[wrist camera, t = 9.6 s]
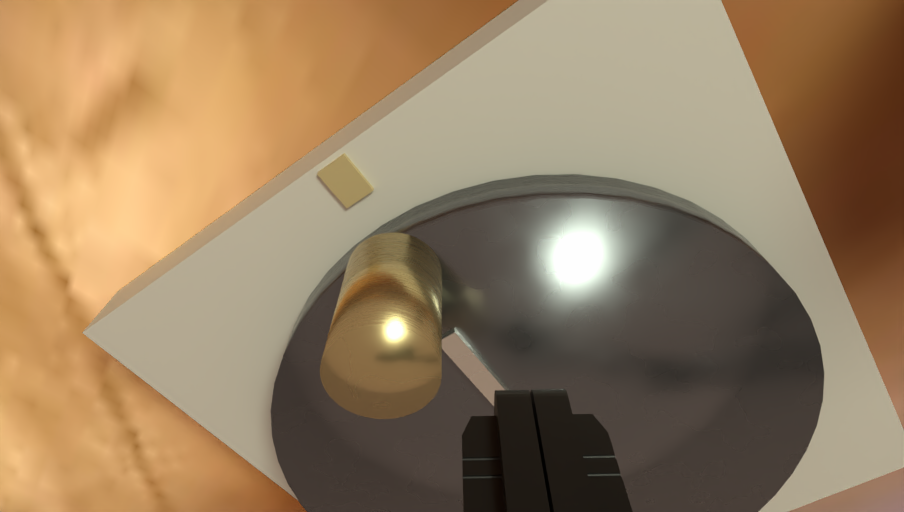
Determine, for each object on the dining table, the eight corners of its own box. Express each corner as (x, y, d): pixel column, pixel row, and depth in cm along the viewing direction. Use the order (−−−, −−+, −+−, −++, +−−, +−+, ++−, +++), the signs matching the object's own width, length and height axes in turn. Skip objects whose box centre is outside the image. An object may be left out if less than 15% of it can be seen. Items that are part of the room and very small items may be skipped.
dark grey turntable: (861, 449, 27) (979, 601, 21) (467, 604, 34) (473, 757, 27) (656, 25, 18) (765, 85, 12) (159, 352, 24) (63, 500, 18)
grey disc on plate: (877, 416, 31) (920, 465, 28) (467, 584, 38) (469, 636, 35) (648, -95, 19) (683, -95, 16) (117, 291, 26) (79, 335, 24)
